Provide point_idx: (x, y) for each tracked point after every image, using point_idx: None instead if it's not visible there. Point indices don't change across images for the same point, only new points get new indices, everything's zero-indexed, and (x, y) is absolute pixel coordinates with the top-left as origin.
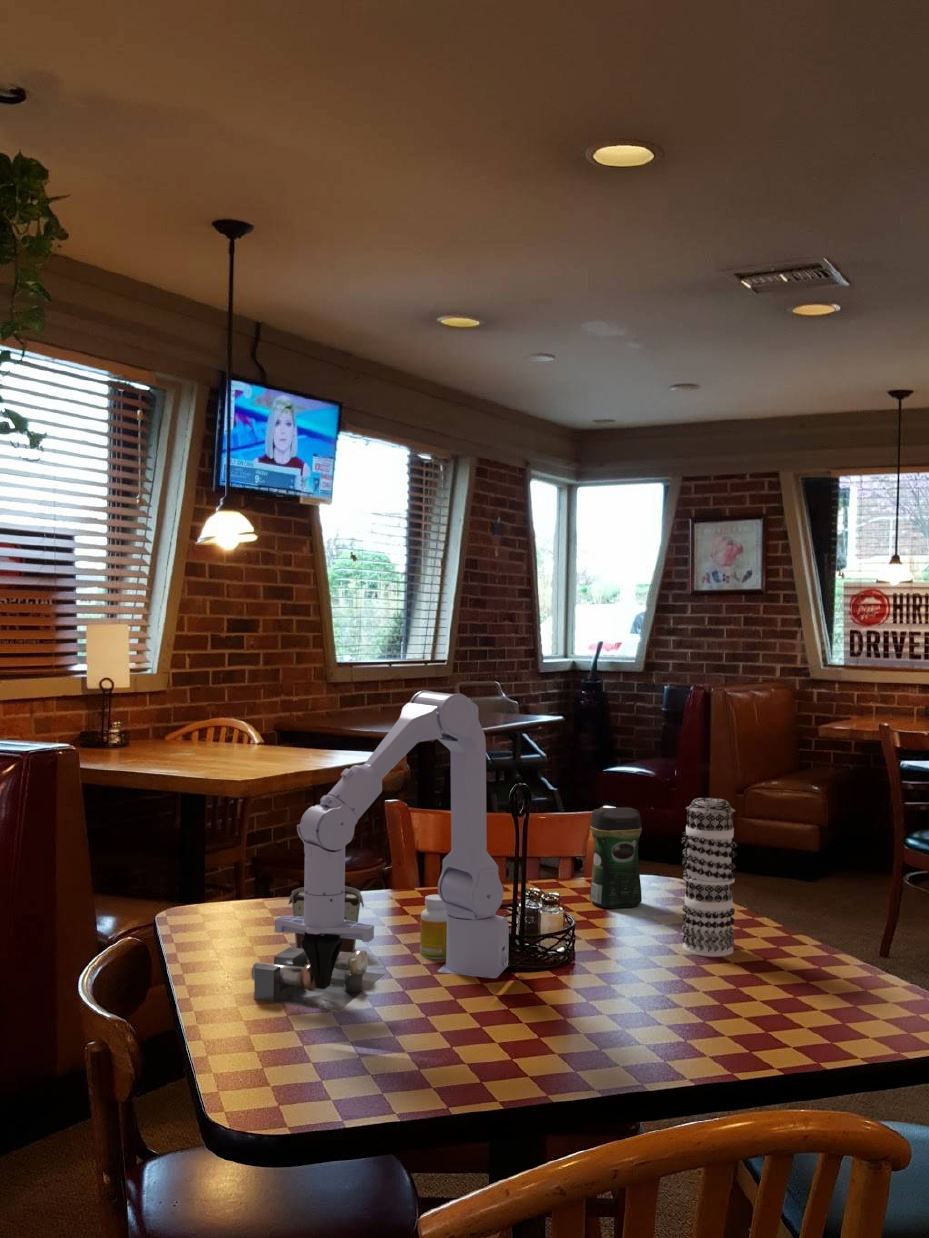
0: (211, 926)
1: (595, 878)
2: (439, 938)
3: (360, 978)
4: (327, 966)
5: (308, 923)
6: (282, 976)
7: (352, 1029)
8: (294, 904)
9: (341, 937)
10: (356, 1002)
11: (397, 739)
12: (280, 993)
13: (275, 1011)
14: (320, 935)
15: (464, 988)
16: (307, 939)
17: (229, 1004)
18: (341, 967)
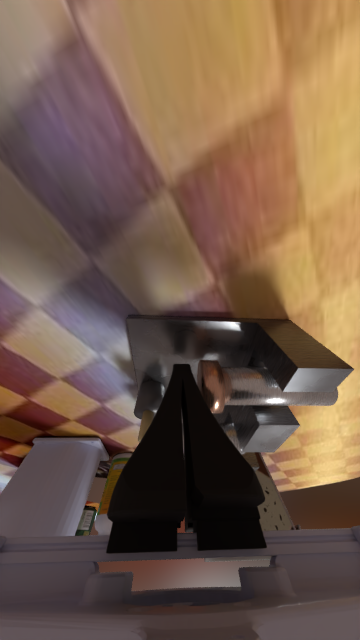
0: (340, 462)
1: (81, 535)
2: (111, 485)
3: (135, 405)
4: (160, 405)
5: None
6: (263, 375)
7: (52, 244)
8: (290, 525)
9: (104, 538)
10: (133, 363)
11: None
12: (251, 348)
13: (244, 296)
14: (196, 533)
15: (47, 420)
16: (241, 505)
17: (336, 304)
18: (182, 425)
